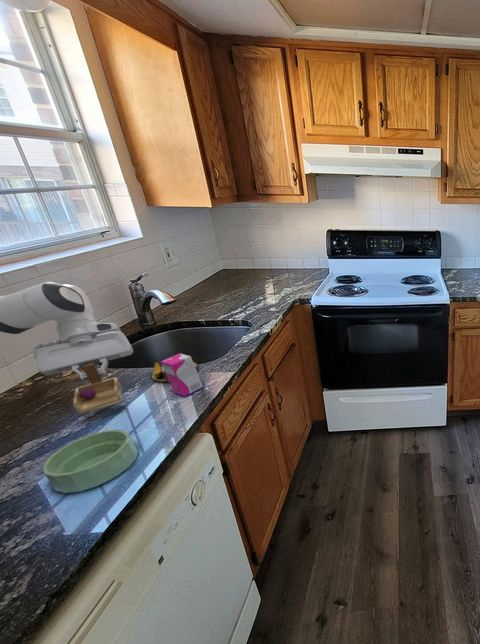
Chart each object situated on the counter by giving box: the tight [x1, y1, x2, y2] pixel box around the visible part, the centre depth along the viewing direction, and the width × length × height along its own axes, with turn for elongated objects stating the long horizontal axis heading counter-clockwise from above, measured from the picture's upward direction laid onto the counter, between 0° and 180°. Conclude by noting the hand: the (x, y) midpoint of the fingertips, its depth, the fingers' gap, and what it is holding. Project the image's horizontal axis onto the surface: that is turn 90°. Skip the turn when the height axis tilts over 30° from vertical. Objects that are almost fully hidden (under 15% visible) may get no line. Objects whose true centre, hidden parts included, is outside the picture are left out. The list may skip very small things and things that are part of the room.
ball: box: [81, 389, 96, 399], centre depth 103 cm, size 3×3×3 cm
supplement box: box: [160, 353, 204, 398], centre depth 110 cm, size 6×6×12 cm
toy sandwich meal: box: [151, 361, 198, 383], centre depth 121 cm, size 12×14×5 cm
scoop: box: [72, 362, 123, 415], centre depth 102 cm, size 12×9×9 cm
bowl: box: [42, 429, 139, 494], centre depth 82 cm, size 14×14×6 cm
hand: (94, 376), depth 105 cm, fingers closed on scoop, 2 cm apart
